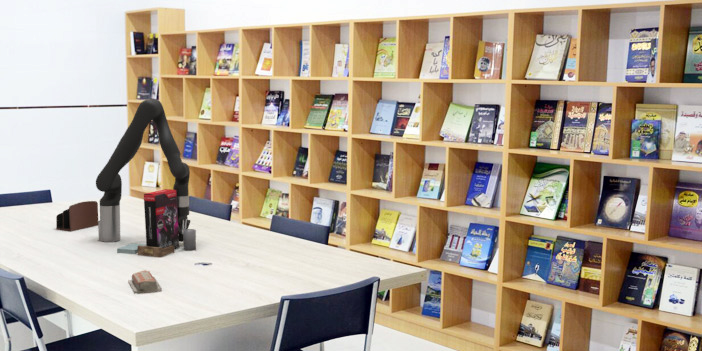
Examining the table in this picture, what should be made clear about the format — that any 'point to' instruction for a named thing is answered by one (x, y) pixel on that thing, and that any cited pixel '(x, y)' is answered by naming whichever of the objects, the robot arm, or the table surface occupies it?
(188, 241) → the grey rounded capsule
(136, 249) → the light blue rectangular block
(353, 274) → the table surface
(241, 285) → the table surface
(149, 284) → the packaged product
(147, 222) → the graphics card box
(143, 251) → the brown wooden angled bracket
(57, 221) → the letter holder
